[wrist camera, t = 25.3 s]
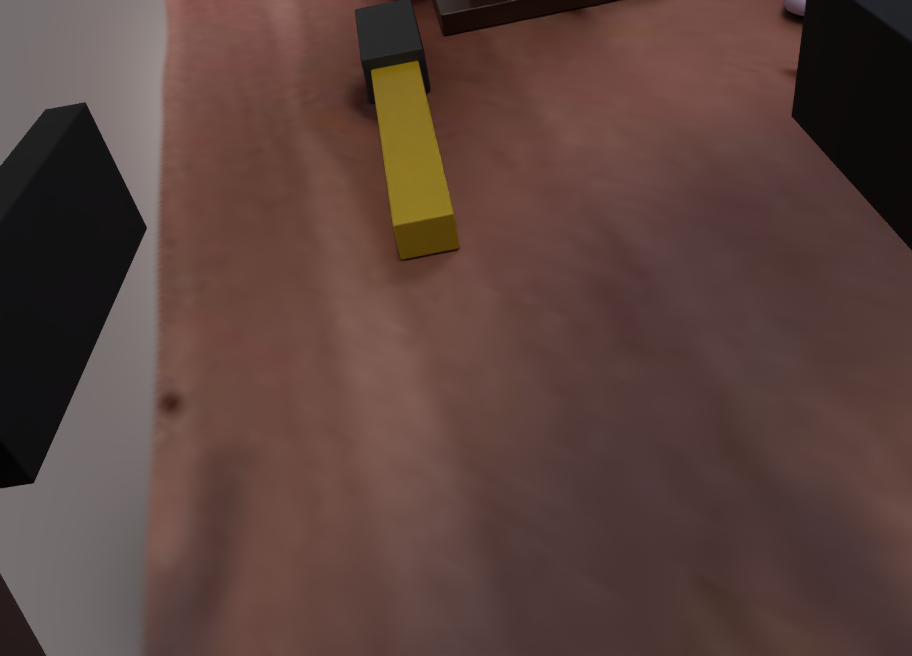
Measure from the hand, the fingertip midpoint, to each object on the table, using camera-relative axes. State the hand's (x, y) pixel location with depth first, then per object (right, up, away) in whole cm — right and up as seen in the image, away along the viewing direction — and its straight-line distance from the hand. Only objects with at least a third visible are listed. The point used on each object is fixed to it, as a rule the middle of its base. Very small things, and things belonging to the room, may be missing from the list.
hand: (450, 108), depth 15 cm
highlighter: (-2, +4, +17) cm, 17 cm away
